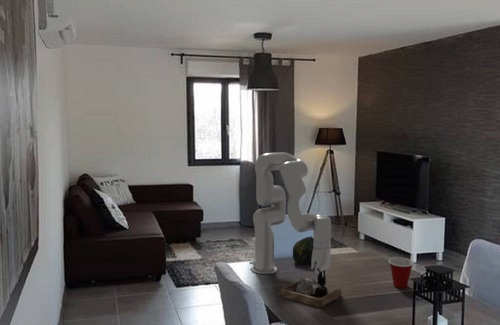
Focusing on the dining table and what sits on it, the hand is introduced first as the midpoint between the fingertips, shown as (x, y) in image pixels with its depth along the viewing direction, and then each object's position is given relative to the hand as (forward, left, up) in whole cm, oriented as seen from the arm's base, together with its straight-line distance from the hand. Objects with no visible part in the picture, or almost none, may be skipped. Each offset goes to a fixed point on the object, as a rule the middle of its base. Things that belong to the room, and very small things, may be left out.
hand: (321, 284), depth 205 cm
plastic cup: (+26, +26, -3) cm, 37 cm away
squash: (-27, +31, -3) cm, 41 cm away
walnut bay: (0, -9, -2) cm, 9 cm away
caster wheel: (0, -6, -3) cm, 7 cm away
